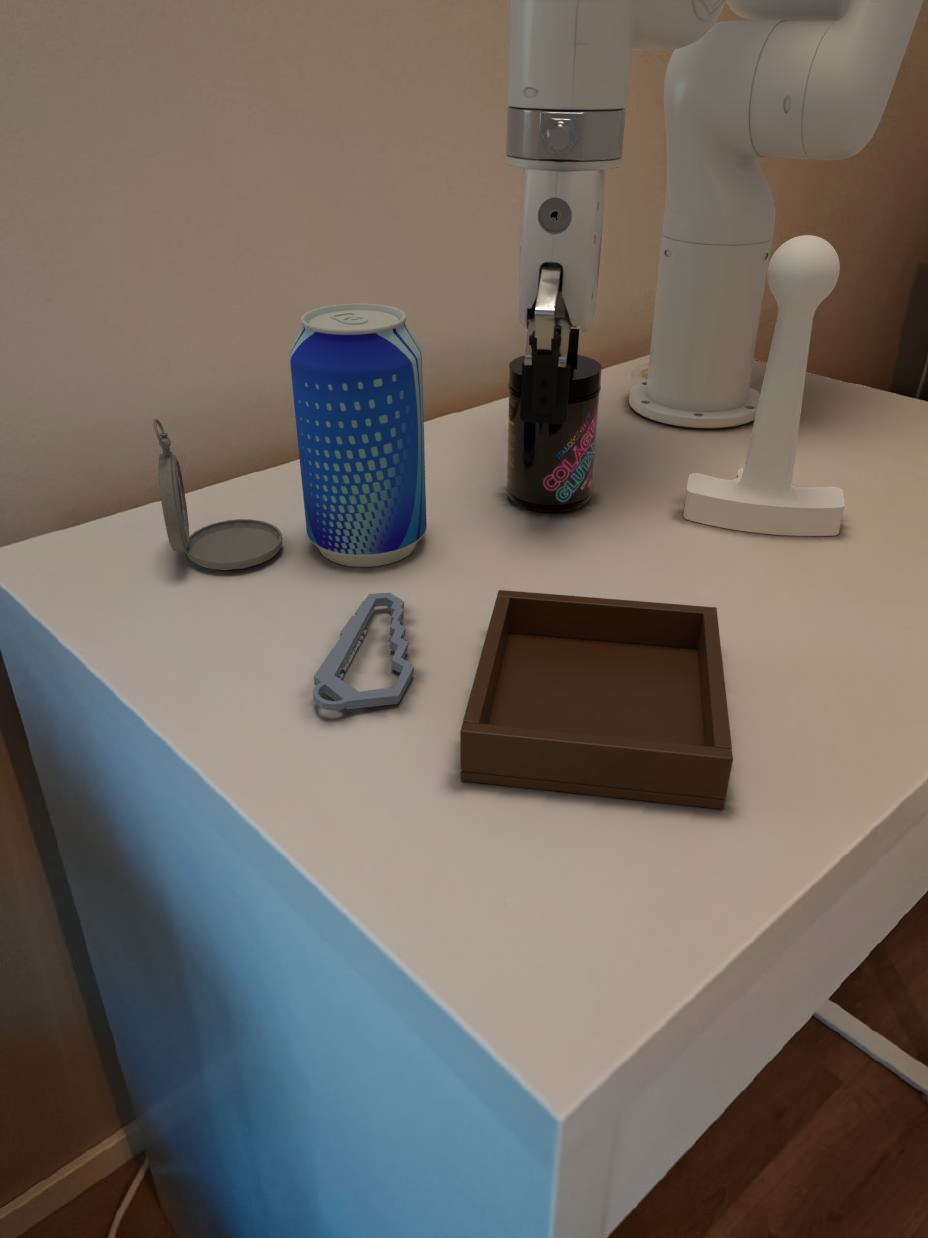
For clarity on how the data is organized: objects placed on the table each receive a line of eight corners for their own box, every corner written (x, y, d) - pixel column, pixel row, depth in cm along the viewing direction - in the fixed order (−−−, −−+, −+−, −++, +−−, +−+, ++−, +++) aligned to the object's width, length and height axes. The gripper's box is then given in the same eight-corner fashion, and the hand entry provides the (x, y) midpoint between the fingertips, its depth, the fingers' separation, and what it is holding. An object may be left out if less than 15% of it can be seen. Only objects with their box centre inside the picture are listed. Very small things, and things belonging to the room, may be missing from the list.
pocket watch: (302, 551, 68) (288, 414, 63) (200, 595, 63) (176, 450, 57) (233, 516, 73) (215, 386, 67) (133, 555, 67) (105, 417, 62)
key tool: (440, 614, 61) (364, 600, 61) (441, 602, 60) (364, 587, 61) (391, 730, 51) (301, 712, 52) (392, 716, 50) (301, 698, 51)
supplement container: (525, 521, 72) (530, 384, 66) (493, 486, 77) (494, 357, 72) (607, 508, 74) (618, 374, 68) (570, 475, 79) (577, 348, 74)
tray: (497, 633, 59) (498, 589, 57) (709, 651, 57) (716, 606, 55) (460, 781, 47) (459, 731, 46) (724, 810, 45) (733, 759, 44)
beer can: (433, 520, 72) (429, 300, 63) (418, 575, 65) (410, 335, 56) (323, 516, 73) (303, 298, 64) (295, 569, 65) (269, 332, 57)
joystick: (681, 524, 71) (718, 237, 61) (688, 484, 77) (722, 217, 67) (839, 541, 69) (906, 246, 58) (834, 498, 75) (893, 224, 64)
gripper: (619, 154, 54) (595, 444, 63) (626, 132, 69) (605, 370, 78) (487, 150, 55) (481, 436, 64) (521, 129, 70) (512, 364, 79)
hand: (549, 399), depth 71 cm, fingers open, 9 cm apart
